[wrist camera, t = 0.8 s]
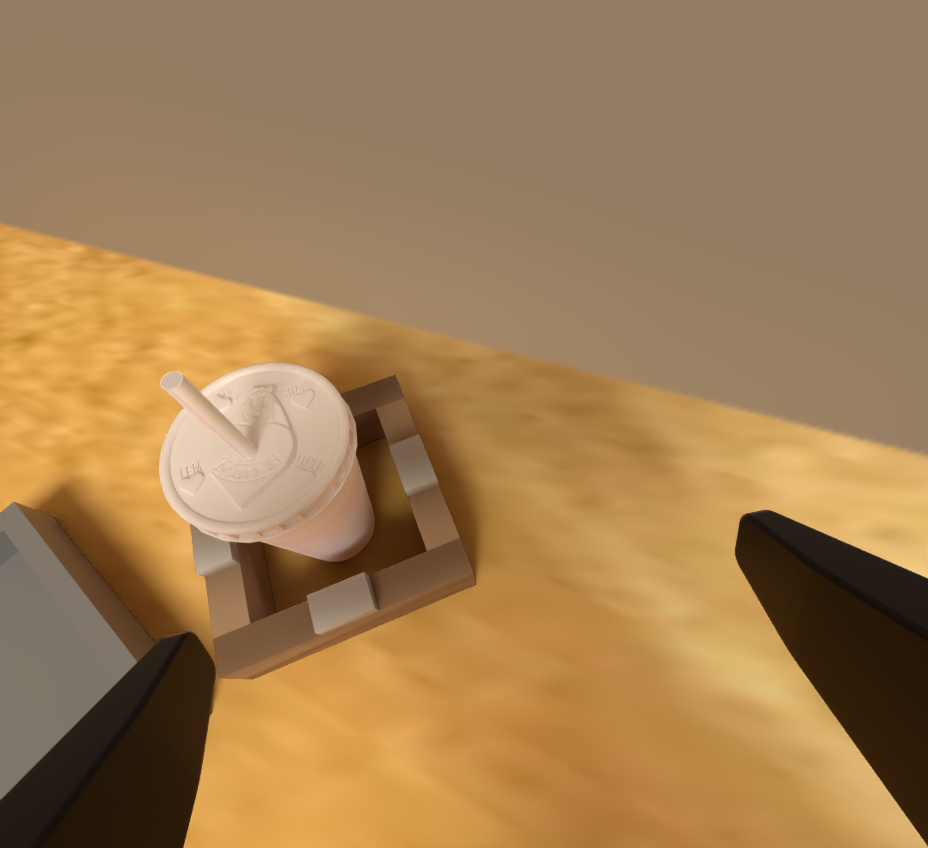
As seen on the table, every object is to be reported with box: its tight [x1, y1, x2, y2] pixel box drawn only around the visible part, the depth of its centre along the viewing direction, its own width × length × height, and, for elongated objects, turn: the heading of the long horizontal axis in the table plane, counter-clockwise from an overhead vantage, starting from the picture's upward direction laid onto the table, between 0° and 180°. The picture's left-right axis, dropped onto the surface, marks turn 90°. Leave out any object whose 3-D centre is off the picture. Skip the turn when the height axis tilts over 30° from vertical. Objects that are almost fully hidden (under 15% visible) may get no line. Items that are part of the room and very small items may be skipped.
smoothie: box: [159, 362, 375, 562], centre depth 18 cm, size 6×6×14 cm
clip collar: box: [190, 375, 476, 679], centre depth 23 cm, size 11×11×4 cm
